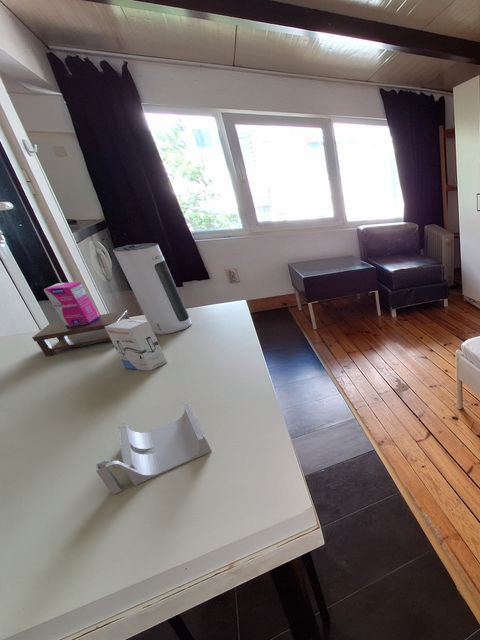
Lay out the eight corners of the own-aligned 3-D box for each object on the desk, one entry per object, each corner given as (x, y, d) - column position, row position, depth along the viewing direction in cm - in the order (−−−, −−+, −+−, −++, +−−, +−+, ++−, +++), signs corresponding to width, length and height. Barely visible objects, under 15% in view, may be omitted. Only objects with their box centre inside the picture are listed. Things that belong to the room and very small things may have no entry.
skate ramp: (211, 451, 64) (200, 428, 61) (112, 495, 56) (95, 471, 53) (195, 415, 74) (184, 394, 71) (109, 448, 66) (94, 425, 63)
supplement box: (65, 327, 104) (41, 289, 99) (78, 320, 109) (56, 283, 104) (89, 324, 105) (67, 286, 100) (101, 317, 110) (81, 280, 105)
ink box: (124, 368, 93) (101, 326, 88) (143, 359, 97) (122, 318, 92) (150, 371, 91) (128, 328, 86) (169, 361, 95) (149, 320, 90)
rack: (44, 357, 101) (31, 337, 98) (61, 341, 111) (50, 323, 108) (126, 341, 108) (116, 322, 106) (135, 327, 118) (126, 310, 115)
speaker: (176, 334, 111) (137, 248, 99) (143, 335, 112) (100, 249, 100) (199, 321, 121) (166, 240, 109) (169, 322, 121) (133, 242, 109)
